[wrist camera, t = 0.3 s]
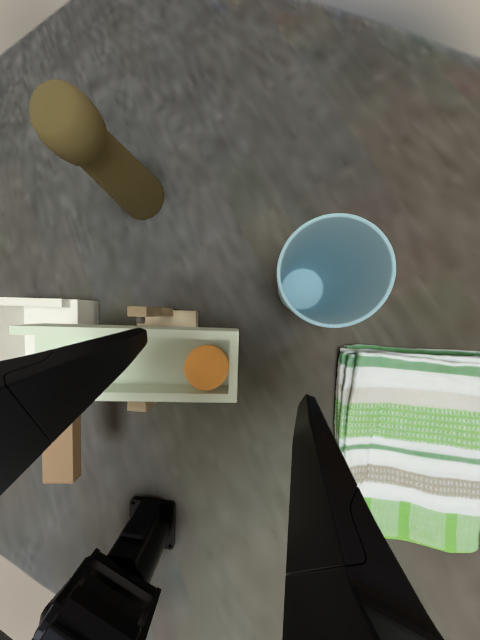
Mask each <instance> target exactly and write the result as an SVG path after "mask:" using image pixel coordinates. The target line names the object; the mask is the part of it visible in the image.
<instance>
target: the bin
mask: <svg viewBox="0 0 480 640" xmlns="http://www.w3.org/2000/svg"><path fill="white" fill-rule="evenodd" d="M41 323H54V324H92V325H99V301H91V300H75V299H49V298H8V297H0V361H2V360H7V359H12V358H17V357H22V356H26V355H31V354H35V335H9V325H25V324H41Z"/></svg>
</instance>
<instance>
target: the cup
mask: <svg viewBox="0 0 480 640" xmlns="http://www.w3.org/2000/svg"><path fill="white" fill-rule="evenodd" d="M395 276H396V261H395V255H394V251H393V249H392V246H391V244H390V242H389V241H388V239H387V237H386V236H385V235H384V233H383V232H382V231H381V230H380V229H379V228H378V227H377V226H375V225H374V224H373V223H371V222H370V221H368V220H366V219H364V218H361V217H359V216H356V215H352V214H344V213H334V214H327V215H323V216H319V217H317V218H314V219H312V220H310V221H308V222H306V223H305V224H303V225H302V226H301V227H299V228H298V229H297V230H296V231H295V232H294V233H293V234H292V235H291V236H290V237H289V239H288V240H287V242H286V243H285V245H284V246H283V249H282V251H281V253H280V256H279V260H278V264H277V284H278V294H279V297H280V299H281V302H282V303H283V304H284V305H285V306H286V307H287V308H288V309H289V310H291V311H292V312H293V313H294V314H296V315H297V316H298V317H300V318H301V319H303V320H305V321H307V322H309V323H311V324H314V325H317V326H321V327H328V328H340V327H347V326H351V325H354V324H357V323H359V322H361V321H363V320H365V319H367V318H368V317H370V316H371V315H372V314H374V313H375V312H376V311H377V310H378V309H379V308H380V307H381V306H382V305H383V304H384V302H385V301H386V299H387V298H388V296H389V294H390V292H391V290H392V287H393V284H394V281H395Z"/></svg>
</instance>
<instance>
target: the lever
mask: <svg viewBox="0 0 480 640" xmlns="http://www.w3.org/2000/svg"><path fill="white" fill-rule="evenodd" d="M138 327H140V328H143V329H145V330H146V331H147V338H148V342H147V344H146V346H145V347H144V348H143V349H142V351H141V352H140V353H139V354H138V356H137V357H136V358H135V359H134V360H133V362H132V363H131V364H130V365H129V366H128V367H127V368H126V370H125V371H124V372H123V373H122V374H121V375H120V376H119V377H118V378H117V379H116V380H115V381H114V382H113V383H112V384H111V385H110V386H109V387H108V388H107V389H106V390H105V391H104V392H103V393H102V394H101V395H100V396H99V397H98V398H97V399H96V400H95V401H139V402H214V403H237V380H238V345H239V330H238V328H206V327H168V326H130V325H92V324H54V323H41V324H25V325H9V335H35V353H39V352H43V351H47V350H51V349H55V348H56V349H57V348H59V347H63V346H67V345H71V344H75V343H79V342H83V341H87V340H91V339H95V338H99V337H103V336H107V335H111V334H114V333H118V332H122V331H126V330H130V329H134V328H138ZM201 345H214V346H216V347H218V348H220V349H221V350H222V351H223V352H224V353H225V354H226V356H227V358H228V361H229V372H228V375H227V377H226V379H225V380H224V382H223V383H222V384H221V385H220V386H218V387H217V388H215V389H212V390H199V389H197V388H195V387H193V386H192V385H191V384H190V383H189V382H188V381H187V379H186V377H185V373H184V364H185V360H186V358H187V356H188V355H189V353H190V352H191V351H192V350H193V349H195V348H196V347H199V346H201ZM42 467H43V483H74V482H75V481H76V480H77V479H78V478H79V477H80V475H81V415H80V416H79V417H78V418H77V419H76V420H75V421H74V422H73V423H72V424H71V425H70V426H69V427H68V428H67V429H66V430H65V431H64V432H63V433H62V434H61V435H60V436H59V437H58V438H57V439H56V440H55V441H54V442H52V444H51V445H50V446H49V447H48V448H47V449H46V450H45V451H44V452H43V453H42Z"/></svg>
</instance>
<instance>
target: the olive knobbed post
mask: <svg viewBox="0 0 480 640" xmlns="http://www.w3.org/2000/svg"><path fill="white" fill-rule="evenodd" d="M29 116H30V121H31V124H32V126H33V128H34V129H35V131H36V133H37V135H38V136H39V138H40V140H41V141H42V142H43V143H44V144H45V145H46V146H47V147H48V148H49V149H50V150H51V151H52V152H53V153H55V154H56V155H57V156H59V157H60V158H61V159H63V160H65V161H67V162H69V163H71V164H74V165H76V166H80V167H81V168H82V169H83V170H84V171H85V172H86V173H87V174H88V175H89V176H90V177H91V178H93V179H94V180H95V181H96V182H97V183H98V184H99V185H100V186H101V187H102V188H103V189H104V190H105V191H106V192H107V193H108V194H109V195H110V196H111V197H112V198H113V199H114V200H115V201H116V202H117V203H118V204H119V205H120V206H121V207H122V208H123V209H124V210H125V211H126V212H127V213H128V214H129V215H130V216H131V217H133V218H135V219H138V220H146V219H149V218H151V217H153V216H154V215H156V214H157V213H158V211H159V210H160V209H161V206H162V204H163V201H164V192H163V187H162V185H161V183H160V182H159V180H158V179H157V178H156V177H155V176H154V175H153V174H152V173H150V172H149V171H148V170H147V169H146V168H145V167H144V166H143V165H142V164H141V163H140V162H139V161H138V160H137V159H136V158H135V157H134V156H133V155H132V154H131V153H130V152H129V151H128V150H127V149H126V148H125V147H124V146H123V145H122V144H121V143H120V142H119V141H118V140H117V139H116V138H115V137H113V136H112V135H111V134H110V133H109V132H108V131H107V128H106V124H105V122H104V120H103V118H102V117H101V115H100V113H99V111H98V110H97V108H96V107H95V105H94V104H93V103H92V101H91V100H90V99H89V98H88V97H87V96H86V95H85V94H83V93H82V92H81V91H80V90H79V89H78V88H77V87H75V86H74V85H72V84H70V83H68V82H66V81H63V80H60V79H54V80H49V81H46V82H44V83H42V84H41V85H39V86H38V87H37V88H36V89H35V91H34V93H33V94H32V97H31V100H30V105H29Z"/></svg>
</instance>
